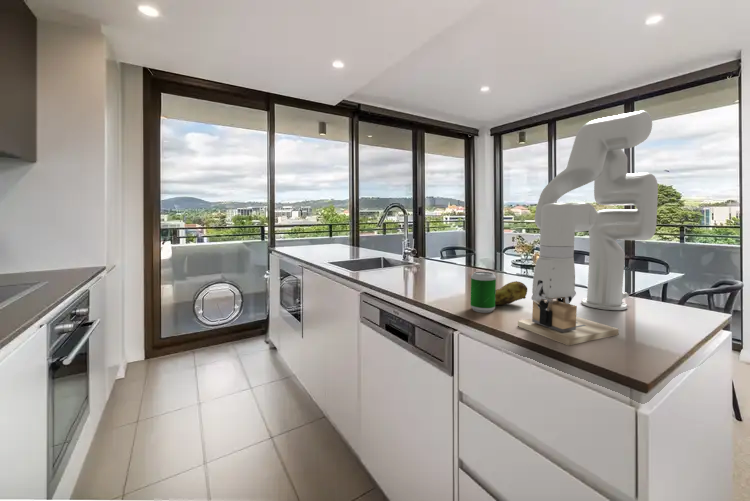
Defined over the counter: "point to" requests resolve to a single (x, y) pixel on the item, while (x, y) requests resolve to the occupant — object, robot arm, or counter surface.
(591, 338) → the board
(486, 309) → the soda can
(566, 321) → the block
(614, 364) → the counter surface
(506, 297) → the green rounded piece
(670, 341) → the counter surface
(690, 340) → the counter surface
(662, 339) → the counter surface
